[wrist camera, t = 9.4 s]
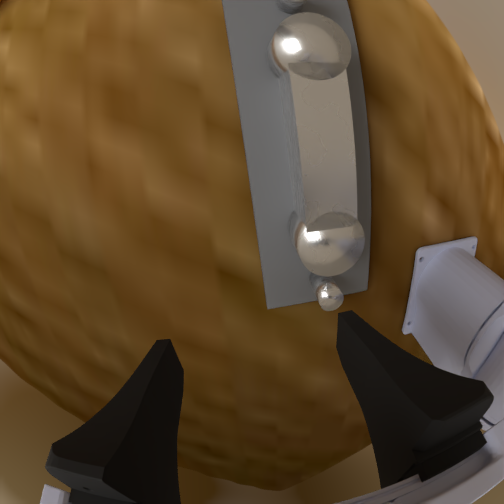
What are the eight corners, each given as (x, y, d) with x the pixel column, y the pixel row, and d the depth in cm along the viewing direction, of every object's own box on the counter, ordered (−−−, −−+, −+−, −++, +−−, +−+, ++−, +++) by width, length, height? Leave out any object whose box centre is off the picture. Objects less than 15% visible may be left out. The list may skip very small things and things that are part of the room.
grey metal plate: (362, 283, 22) (383, 312, 18) (266, 301, 22) (273, 335, 18) (337, -10, 12) (360, -33, 9) (220, -9, 12) (218, -37, 9)
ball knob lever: (345, 248, 19) (363, 270, 17) (290, 257, 19) (300, 281, 17) (325, 30, 13) (344, 14, 10) (261, 31, 13) (268, 12, 10)
